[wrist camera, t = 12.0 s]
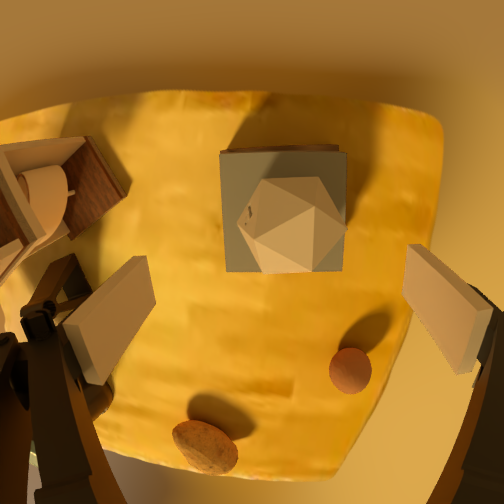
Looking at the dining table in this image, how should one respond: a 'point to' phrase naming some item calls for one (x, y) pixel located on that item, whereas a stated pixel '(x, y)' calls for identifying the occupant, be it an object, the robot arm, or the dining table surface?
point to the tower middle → (276, 166)
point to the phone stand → (56, 277)
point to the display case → (50, 194)
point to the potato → (205, 447)
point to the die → (290, 224)
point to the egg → (350, 370)
